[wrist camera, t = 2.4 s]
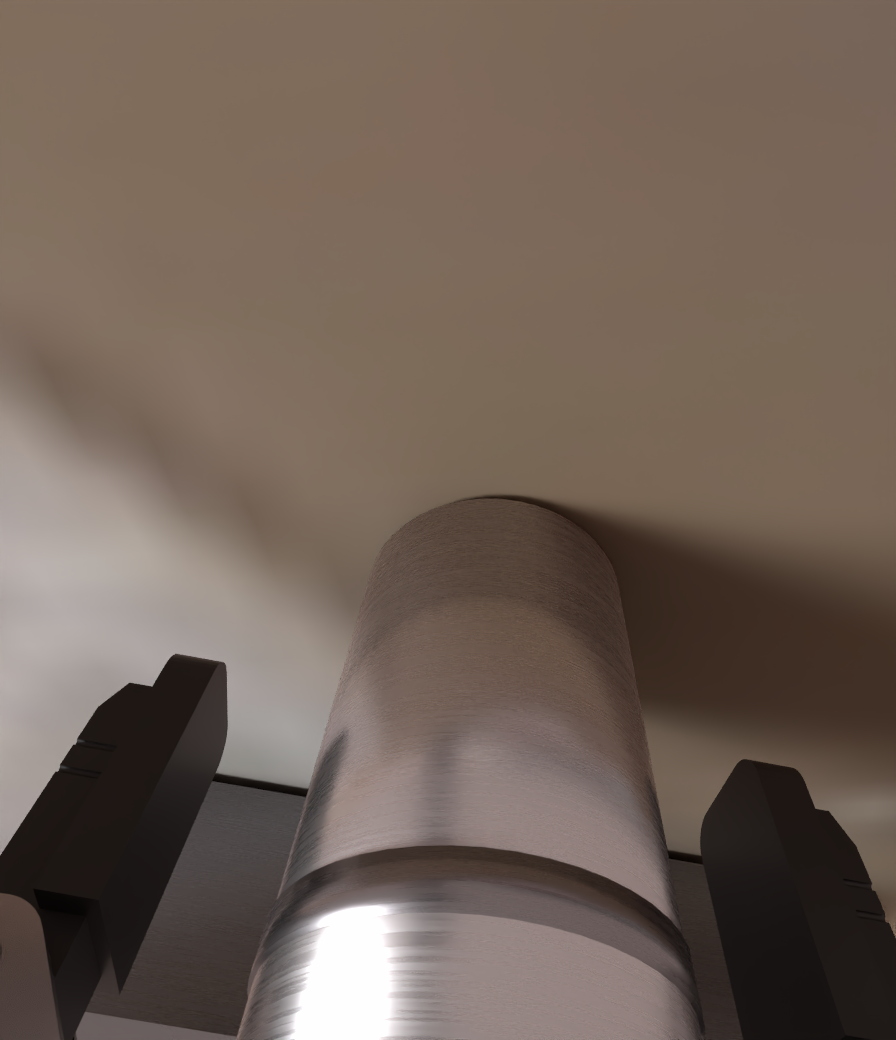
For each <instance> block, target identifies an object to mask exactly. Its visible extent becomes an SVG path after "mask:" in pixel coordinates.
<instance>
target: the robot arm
mask: <svg viewBox="0 0 896 1040" xmlns="http://www.w3.org/2000/svg"><path fill="white" fill-rule="evenodd" d="M227 727H228V720H227V671H226V665H225V663H224V662H219V661H213V660H208V659H202V658H197V657H191V656H186V655H180V654H175V655H173V656H172V657H171V658H170V659H169V660H168V662H167V663H166V665H165V666H164V668H163V670H162V671H161V673H160V675H159V676H158V678H157V680H156V681H155V683H154V685H153V687H151V686H145V685H140V684H134V683H129V684H127V685H126V686H125V687H124V688H122V689H121V690H120V691H118V692H117V693H116V694H114V695H113V696H112V697H111V698H109V699H108V700H107V701H105V702H104V703H103V704H102V705H100V706H99V707H98V708H97V710H96V711H95V713H94V714H93V716H92V717H91V719H90V720H89V722H88V723H87V725H86V726H85V728H84V729H83V731H82V732H81V734H80V735H79V737H78V738H77V743H76V745H73V746H72V748H71V749H70V751H69V752H68V754H67V755H66V757H65V758H64V760H63V761H62V763H61V764H60V769H59V771H58V772H55V773H54V775H53V776H52V778H51V779H50V781H49V782H48V784H47V785H46V787H45V789H44V790H43V792H42V793H41V795H40V796H39V798H38V799H37V801H36V802H35V804H34V805H33V807H32V808H31V810H30V811H29V813H28V814H27V816H26V817H25V819H24V820H23V822H22V823H21V825H20V826H19V828H18V830H17V831H16V833H15V834H14V836H13V837H12V839H11V840H10V842H9V843H8V845H7V846H6V848H5V849H4V851H3V852H2V854H1V855H0V1040H77V1036H76V1031H77V1028H78V1026H79V1024H80V1022H81V1020H82V1017H83V1015H84V1013H85V1011H86V1009H87V1007H88V1004H89V1002H90V1000H91V998H92V996H93V994H94V991H100V992H106V993H111V994H117V995H120V993H121V991H122V989H123V986H124V984H125V982H126V979H127V977H128V975H129V972H130V970H131V968H132V965H133V963H134V961H135V958H136V956H137V954H138V951H139V949H140V947H141V944H142V942H143V940H144V938H145V935H146V933H147V931H148V928H149V926H150V924H151V921H152V919H153V917H154V914H155V912H156V910H157V907H158V905H159V903H160V900H161V898H162V896H163V894H164V891H165V889H166V887H167V884H168V882H169V880H170V877H171V875H172V873H173V870H174V868H175V866H176V863H177V861H178V859H179V856H180V854H181V852H182V849H183V847H184V845H185V843H186V840H187V838H188V836H189V833H190V831H191V829H192V826H193V824H194V822H195V819H196V817H197V815H198V812H199V810H200V808H201V805H202V803H203V801H204V799H205V796H206V794H207V792H208V789H209V787H210V785H211V782H212V780H213V778H214V775H215V773H216V771H217V768H218V766H219V763H220V760H221V757H222V754H223V750H224V746H225V742H226V736H227ZM700 847H701V855H702V861H703V865H704V869H705V874H706V878H707V882H708V887H709V891H710V896H711V900H712V904H713V909H714V913H715V918H716V922H717V926H718V931H719V935H720V940H721V944H722V948H723V953H724V957H725V962H726V966H727V970H728V975H729V979H730V984H731V988H732V992H733V997H734V1001H735V1006H736V1010H737V1014H738V1019H739V1023H740V1027H741V1032H742V1036H743V1040H896V938H895V936H894V934H893V931H892V929H891V927H890V924H889V923H886V922H885V913H884V910H883V908H882V906H881V903H880V901H879V899H878V896H877V894H876V892H875V891H872V888H871V885H872V882H871V880H870V878H869V875H868V873H867V871H866V868H865V866H864V864H863V861H862V859H861V857H860V854H859V852H858V850H857V847H856V845H855V844H854V843H853V842H852V840H851V839H850V838H849V837H848V835H847V834H846V833H845V831H844V830H843V829H842V828H841V826H840V825H839V824H838V823H837V821H836V820H835V819H834V817H833V816H832V815H831V814H830V812H829V811H824V810H819V809H815V807H814V804H813V802H812V799H811V797H810V794H809V791H808V789H807V786H806V784H805V782H804V779H803V777H802V776H801V774H800V773H799V772H798V771H797V770H796V769H794V768H791V767H785V766H780V765H774V764H769V763H763V762H758V761H752V760H747V759H744V760H741V761H740V762H739V763H738V764H737V765H736V766H735V768H734V770H733V771H732V773H731V774H730V776H729V778H728V779H727V781H726V782H725V784H724V786H723V787H722V789H721V790H720V792H719V794H718V795H717V797H716V798H715V800H714V802H713V803H712V805H711V806H710V808H709V810H708V811H707V813H706V815H705V817H704V820H703V823H702V828H701V836H700Z"/></svg>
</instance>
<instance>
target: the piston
mask: <svg viewBox="0 0 896 1040" xmlns="http://www.w3.org/2000/svg"><path fill="white" fill-rule="evenodd" d="M247 994H248V1001H247V1004H246V1008H245V1011H244V1014H243V1018H242V1021H241V1025H240V1028H239V1032H238V1035H237V1039H236V1040H705V1023H704V1018H703V1013H702V1008H701V1002H700V997H699V992H698V987H697V981H696V976H695V971H694V966H693V961H692V957H691V953H690V949H689V946H688V945H687V943H686V941H685V939H684V937H683V933H682V927H681V922H680V916H679V911H678V905H677V900H676V895H675V889H674V884H673V878H672V873H671V868H670V862H669V857H668V851H667V846H666V840H665V835H664V830H663V824H662V819H661V813H660V808H659V803H658V797H657V792H656V786H655V781H654V775H653V770H652V765H651V759H650V754H649V748H648V743H647V738H646V732H645V727H644V721H643V716H642V711H641V705H640V700H639V694H638V689H637V683H636V678H635V673H634V667H633V662H632V656H631V651H630V646H629V640H628V635H627V629H626V624H625V618H624V613H623V608H622V602H621V597H620V591H619V586H618V582H617V578H616V574H615V572H614V569H613V567H612V565H611V562H610V561H609V559H608V557H607V556H606V554H605V553H604V551H603V550H602V548H601V547H600V546H599V545H598V544H597V543H596V541H595V540H594V539H593V538H592V537H591V536H590V535H589V534H587V533H586V532H585V531H584V530H583V529H582V528H580V527H579V526H577V525H576V524H574V523H573V522H571V521H570V520H568V519H567V518H565V517H563V516H561V515H559V514H557V513H555V512H553V511H550V510H548V509H545V508H542V507H539V506H537V505H533V504H529V503H524V502H520V501H514V500H506V499H474V500H464V501H459V502H455V503H450V504H446V505H443V506H440V507H438V508H435V509H432V510H430V511H428V512H426V513H423V514H421V515H419V516H417V517H416V518H414V519H413V520H411V521H410V522H408V523H407V524H405V525H404V526H402V527H401V528H400V529H399V530H398V531H397V532H396V533H395V534H394V535H392V536H391V538H390V539H389V540H388V541H387V543H386V544H385V545H384V546H383V548H382V549H381V551H380V553H379V554H378V556H377V558H376V560H375V563H374V565H373V568H372V570H371V574H370V577H369V581H368V584H367V588H366V591H365V595H364V598H363V602H362V605H361V609H360V612H359V615H358V619H357V622H356V626H355V629H354V633H353V636H352V640H351V643H350V647H349V650H348V654H347V657H346V661H345V664H344V668H343V671H342V674H341V678H340V681H339V685H338V688H337V692H336V695H335V699H334V702H333V706H332V709H331V713H330V716H329V720H328V723H327V727H326V730H325V733H324V737H323V740H322V744H321V747H320V751H319V754H318V758H317V761H316V765H315V768H314V772H313V775H312V779H311V782H310V785H309V789H308V792H307V796H306V799H305V803H304V806H303V810H302V813H301V817H300V820H299V824H298V827H297V831H296V834H295V838H294V841H293V844H292V848H291V851H290V855H289V858H288V862H287V865H286V869H285V872H284V876H283V879H282V883H281V886H280V890H279V893H278V897H277V900H276V901H275V903H274V904H273V905H272V907H271V909H270V912H269V914H268V916H267V919H266V922H265V925H264V929H263V932H262V935H261V939H260V942H259V946H258V949H257V952H256V956H255V959H254V963H253V966H252V969H251V973H250V976H249V981H248V988H247Z"/></svg>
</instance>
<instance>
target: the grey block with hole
mask: <svg viewBox="0 0 896 1040" xmlns="http://www.w3.org/2000/svg"><path fill="white" fill-rule="evenodd" d="M305 799H306V797H302V796H296V795H290V794H285V793H279V792H273V791H267V790H261V789H255V788H249V787H243V786H237V785H232V784H226V783H220V782H214V781H212V782H211V785H210V787H209V789H208V792H207V794H206V796H205V799H204V801H203V803H202V805H201V808H200V810H199V812H198V815H197V817H196V819H195V822H194V824H193V826H192V829H191V831H190V833H189V836H188V838H187V840H186V843H185V845H184V847H183V849H182V852H181V854H180V856H179V859H178V861H177V863H176V866H175V868H174V870H173V873H172V875H171V877H170V880H169V882H168V884H167V887H166V889H165V891H164V894H163V896H162V898H161V900H160V903H159V905H158V907H157V910H156V912H155V914H154V917H153V919H152V921H151V924H150V926H149V928H148V931H147V933H146V935H145V938H144V940H143V942H142V944H141V947H140V949H139V951H138V954H137V956H136V958H135V961H134V963H133V965H132V968H131V970H130V972H129V975H128V977H127V979H126V982H125V984H124V986H123V989H122V991H121V993H120V995H117V994H111V993H106V992H100V991H94V994H93V996H92V998H91V1000H90V1002H89V1004H88V1007H87V1009H86V1011H85V1013H84V1015H83V1017H82V1020H81V1022H80V1024H79V1026H78V1028H77V1031H76V1036H77V1040H236V1039H237V1035H238V1032H239V1028H240V1025H241V1021H242V1018H243V1014H244V1011H245V1008H246V1004H247V1001H248V994H247V988H248V981H249V976H250V973H251V969H252V966H253V963H254V959H255V956H256V952H257V949H258V946H259V942H260V939H261V935H262V932H263V929H264V925H265V922H266V919H267V916H268V914H269V912H270V909H271V907H272V905H273V904H274V903H275V901H276V900H277V897H278V893H279V890H280V886H281V883H282V879H283V876H284V872H285V869H286V865H287V862H288V858H289V855H290V851H291V848H292V844H293V841H294V838H295V834H296V831H297V827H298V824H299V820H300V817H301V813H302V810H303V806H304V803H305ZM669 862H670V868H671V873H672V878H673V884H674V889H675V895H676V900H677V905H678V911H679V916H680V922H681V927H682V933H683V937H684V939H685V941H686V943H687V945H688V946H689V949H690V953H691V957H692V961H693V966H694V971H695V976H696V981H697V987H698V992H699V997H700V1002H701V1008H702V1013H703V1018H704V1023H705V1040H743V1036H742V1032H741V1027H740V1023H739V1019H738V1014H737V1010H736V1006H735V1001H734V997H733V992H732V988H731V984H730V979H729V975H728V970H727V966H726V962H725V957H724V953H723V948H722V944H721V940H720V935H719V931H718V926H717V922H716V918H715V913H714V909H713V904H712V900H711V896H710V891H709V887H708V882H707V878H706V874H705V869H704V865H703V864H697V863H691V862H685V861H679V860H673V859H669Z"/></svg>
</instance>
